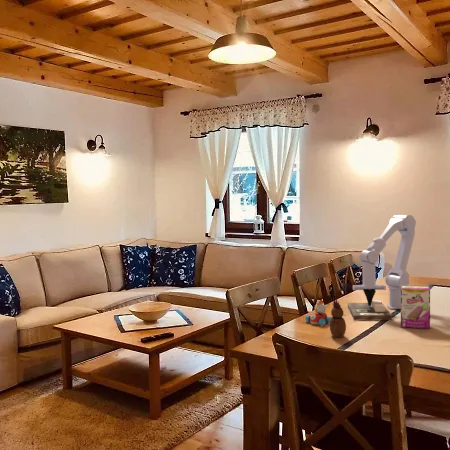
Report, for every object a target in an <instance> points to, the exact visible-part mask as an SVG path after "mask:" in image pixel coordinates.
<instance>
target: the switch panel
mask: <svg viewBox="0 0 450 450" xmlns="http://www.w3.org/2000/svg"><path fill="white" fill-rule="evenodd" d="M347 308H348V311H349V312H350V315H351V317H352V319H353V321H392V320H393V316H392V314H391V312H390V311H389V310H388V309H387V307H386V306H385V312H375V310H374V308H373V307H372V306H368V302H347Z"/></svg>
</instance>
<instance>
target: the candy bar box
mask: <svg viewBox="0 0 450 450" xmlns="http://www.w3.org/2000/svg"><path fill="white" fill-rule="evenodd" d="M400 327H401V328H404V329H405V328H409V329H422V330H423V329H424V330H430V329H431V288H430V286H419V285H417V286H416V285H414V286H412V285H408V286H401V309H400Z"/></svg>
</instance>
